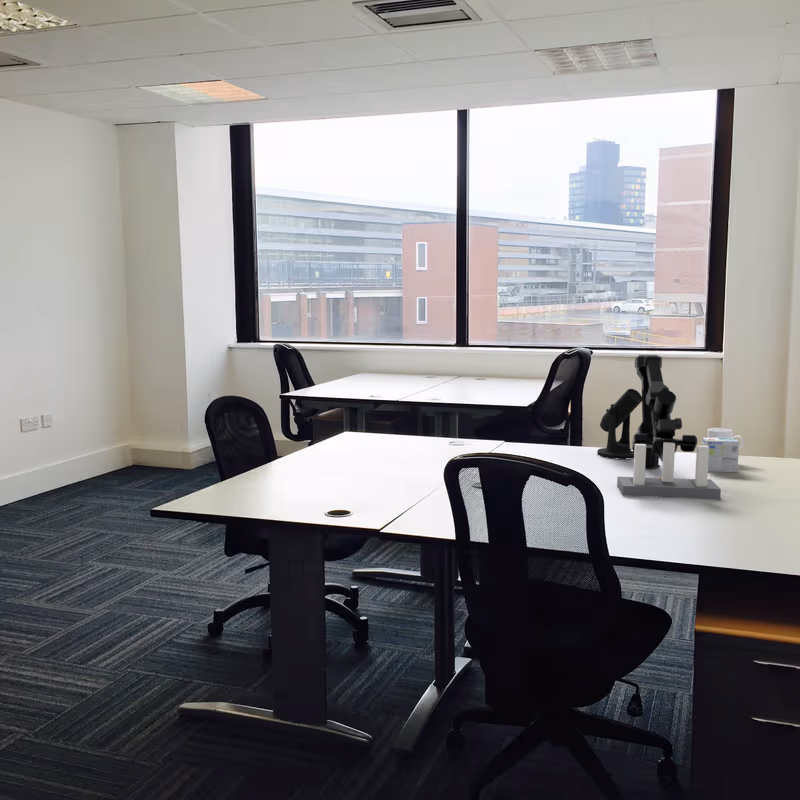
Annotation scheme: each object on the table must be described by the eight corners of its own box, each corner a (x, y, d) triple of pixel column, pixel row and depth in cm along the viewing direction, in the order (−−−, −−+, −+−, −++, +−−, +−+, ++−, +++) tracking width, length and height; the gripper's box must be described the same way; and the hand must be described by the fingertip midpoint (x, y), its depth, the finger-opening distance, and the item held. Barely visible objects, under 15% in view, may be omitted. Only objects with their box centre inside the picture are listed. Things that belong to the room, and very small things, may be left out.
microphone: (622, 461, 296) (625, 391, 292) (586, 453, 310) (589, 386, 307) (650, 457, 304) (654, 388, 300) (615, 448, 318) (617, 383, 315)
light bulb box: (732, 468, 286) (734, 437, 285) (738, 472, 280) (740, 441, 278) (700, 467, 287) (701, 436, 286) (705, 472, 281) (707, 440, 279)
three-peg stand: (617, 485, 261) (619, 438, 259) (710, 488, 258) (713, 440, 255) (622, 495, 249) (624, 446, 247) (720, 499, 246) (723, 448, 244)
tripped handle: (661, 480, 255) (663, 442, 253) (671, 480, 254) (673, 442, 253) (662, 481, 253) (664, 443, 251) (673, 482, 252) (675, 443, 251)
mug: (703, 462, 296) (705, 430, 294) (708, 457, 303) (710, 426, 301) (740, 466, 290) (742, 433, 288) (743, 461, 297) (745, 429, 295)
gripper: (635, 407, 258) (639, 450, 249) (697, 409, 256) (704, 451, 247) (630, 428, 267) (634, 470, 258) (690, 430, 265) (696, 472, 256)
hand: (667, 465), depth 254 cm, fingers closed
